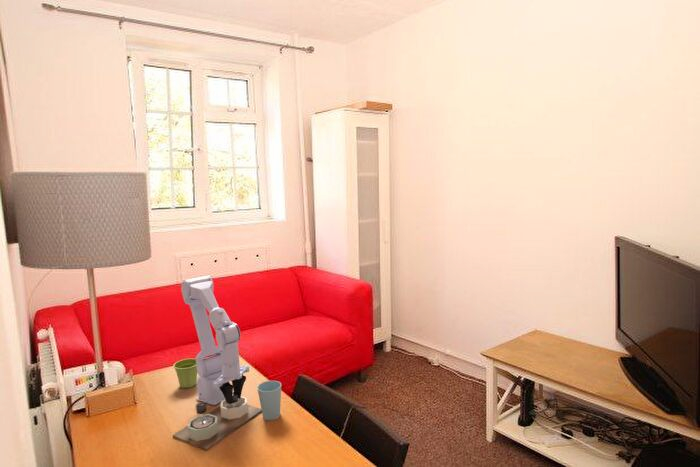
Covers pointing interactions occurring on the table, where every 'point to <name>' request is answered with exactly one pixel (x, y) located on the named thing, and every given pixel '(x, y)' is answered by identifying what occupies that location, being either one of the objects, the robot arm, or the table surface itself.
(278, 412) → the cup
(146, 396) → the table surface
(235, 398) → the plunger
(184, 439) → the board
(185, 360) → the plant pot
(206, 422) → the plunger
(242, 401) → the housing
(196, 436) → the housing
